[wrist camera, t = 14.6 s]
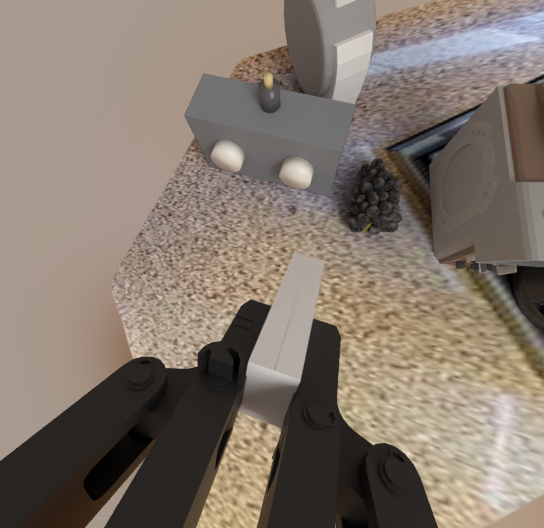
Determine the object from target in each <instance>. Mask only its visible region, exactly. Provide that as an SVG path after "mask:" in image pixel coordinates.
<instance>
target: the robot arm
mask: <svg viewBox="0 0 544 528" xmlns="http://www.w3.org/2000/svg"><path fill="white" fill-rule="evenodd" d="M324 262H325V261H324V260H320V259H317V258H313V257H310V256H306V255H303V254H299V253H296V252H294V255H293V257H292V259H291V262H290V264H289V267H288V269H287V271H286V274H285V276H284V278H283V281H282V283H281V285H280V288H279V290H278V293H277V295H276V297H275V300H274V302H273V304H272V306H269V305H266V304H263V303H260V302H257V301H254V300H249V301H248V302H246V303H245V304H243V305H242V306H241V307H240V309H239V311H238V312H237V314H236V317H235V318H234V319H233V321H232V323H231V325H230V326H229V328H228V330H227V332H226V333H225V335H224V337H223V339H222V340H221V341H218V342H212V343H210V344H208V345H206V346H204V347H203V348H202V349H201V350H200V351H199V352H198V367H194V368H189V369H175V368H165V365H164V364H163V363H162V362H161V360H159V359H156V358H154V357H140V358H136V359H133V360H131V361H129V362H128V363H126V364H124V365H123V366H122V367H120V368H119V369H118V370H117V371H115V372H114V373H113V374H111V375H110V376H109V377H108V378H106V379H105V380H104V381H102V382H101V383H100V384H99V385H97V386H96V387H95V388H93V389H92V390H91V391H90V392H88V393H87V394H86V395H84V396H83V397H82V398H81V399H79V400H78V401H77V402H75V403H74V404H73V405H72V406H70V407H69V408H68V409H66V410H65V411H64V412H63V413H61V414H60V415H59V416H58V417H56V418H55V419H54V420H52V421H51V422H50V423H49V424H47V425H46V426H45V427H43V428H42V429H41V430H40V431H38V432H37V433H36V434H34V435H33V436H32V437H31V438H29V439H28V440H27V441H26V442H24V443H23V444H22V445H21V446H19V447H18V448H16V449H15V450H14V451H13V452H11V453H10V454H9V455H7V456H6V457H5V458H4V459H2V460H1V461H0V528H85V527H86V526H87V525H88V523H89V522H90V521H91V520H92V519H93V518H94V516H95V515H96V514H97V513H98V512H99V510H101V508H102V507H103V506H104V505H105V504H106V503H107V501H108V500H109V499H110V498H111V497H112V496H113V494H114V493H115V492H116V491H117V490H118V488H120V486H121V485H122V484H123V483H124V482H125V481H126V479H127V478H128V477H129V476H130V475H131V474H132V473H133V471H134V470H135V469H136V468H137V467H138V466H139V464H140V463H141V462H142V461H143V460H144V459H145V460H144V462H143V464H142V465H141V467H140V468H139V470H138V472H137V474H136V475H135V477H134V479H133V480H132V482H131V484H130V485H129V487H128V489H127V490H126V492H125V494H124V495H123V497H122V499H121V501H120V502H119V504H118V506H117V507H116V509H115V510H114V512H113V514H112V516H111V517H110V519H109V521H108V522H107V524H106V526H105V527H104V528H196V526H197V523H198V521H199V518H200V515H201V513H202V510H203V507H204V505H205V502H206V499H207V497H208V494H209V492H210V489H211V486H212V484H213V481H214V478H215V476H216V473H217V470H218V468H219V465H220V462H221V460H222V457H223V455H224V452H225V449H226V447H227V444H228V441H229V439H230V436H231V433H232V431H233V425H234V421H235V419H236V416H237V414H238V411H239V412H241V413H244V414H246V415H249V416H251V417H254V418H257V419H259V420H262V421H264V422H267V423H269V424H272V425H275V426H277V427H280V428H282V430H281V434H280V438H279V442H278V444H277V447H276V449H275V452H274V454H273V456H272V459H273V462H272V467H271V471H270V475H269V479H268V483H267V488H266V492H265V496H264V500H263V504H262V509H261V513H260V517H259V521H258V525H257V528H335V523H336V528H438V526H437V523H436V521H435V518H434V515H433V512H432V509H431V506H430V504H429V501H428V498H427V495H426V492H425V490H424V487H423V484H422V481H421V478H420V476H419V474H418V472H417V470H416V468H415V466H414V464H413V463H412V462H411V461H410V459H409V458H408V457H407V456H406V455H405V454H404V453H403V452H402V451H400V450H399V449H398V448H396V447H395V446H392V445H389V444H386V443H380V444H375V445H372V444H371V443H370V442H368V441H367V440H366V439H364V438H363V437H362V436H360V435H359V434H358V433H356V432H355V431H354V430H353V429H352V428H351V427H349V426H348V424H347V423H346V422H345V420H344V419H343V417H342V416H341V414H340V412H339V408H338V405H337V388H338V373H339V358H340V343H341V337H340V334H339V332H338V329H337V327H336V326H334V325H331V324H328V323H325V322H322V321H319V320H316V319H313V317H314V312H315V307H316V302H317V297H318V292H319V287H320V282H321V277H322V272H323V267H324ZM516 269H517V272H514V275H513V291H514V295H515V298H516V301H517V303H518V305H519V307H520V309H521V310H522V312H523V313H524V314H525V316H526V317H527V318H528V319H529V320H530V321H531V322H532V323H533V324H534V325H536V326H537V327H538V328H540V329H541V330H543V331H544V267H536V266H520V265H517V266H516ZM146 456H147V457H146Z"/></svg>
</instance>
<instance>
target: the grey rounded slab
mask: <svg viewBox="0 0 544 528" xmlns="http://www.w3.org/2000/svg"><path fill="white" fill-rule="evenodd" d="M284 20H285V32H286V39H287V45H288V49H289V54H290V60H291V62H292V64H293V67H294V70H295V72H296V75H297V81H298V83H299V84H300V86H301V88H302V89H303V91H304V93H305V94H307V95H312V96H317V97H322V98H327V99H332V100H337V101H342V102H347V103H352V104H355V102H356V100H357V98H358V95H359V93H360V90H361V88H362V85H363V82H364V80H365V77H366V73H367V70H368V67H369V63H370V60H371V58H372V54H373V50H374V45H375V37H376V7H375V1H374V0H285V1H284Z"/></svg>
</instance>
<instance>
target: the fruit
mask: <svg viewBox="0 0 544 528" xmlns="http://www.w3.org/2000/svg"><path fill="white" fill-rule="evenodd" d="M357 178H358V180H359V181H360V182H359V183H358V184H356V185H355V187H354V191H355V193H353V194H352V196H351V201H352V202H351V203H350V204H349V210H350V211H351V212H348V213H347V214H346V220H347V221H348V222H349V224H350V229H351V231H353V232H362V233H363V232H364V231H366V230H367V229H368V231H369V233H370V234H373V235H377V234H378V233H379V232H380V231H381V232H394V231H396V230H397V229H398V224H397V223H400V222H401V221H402V215H401V214H399V213H398V210H399V201H400V199H399V198H400V192H399V190H396V188H398V186H399V180H398V179H397V178H393V175H392V173H391V172H388V171H387V170H385V165H384V164H383V162H382V160H381V159H379V158H377V159H374V160H373V161H372V164H371V165H369V164H366V165H363V166H362V168H361V171H359V172H358V174H357ZM372 223H374V224H372Z"/></svg>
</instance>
